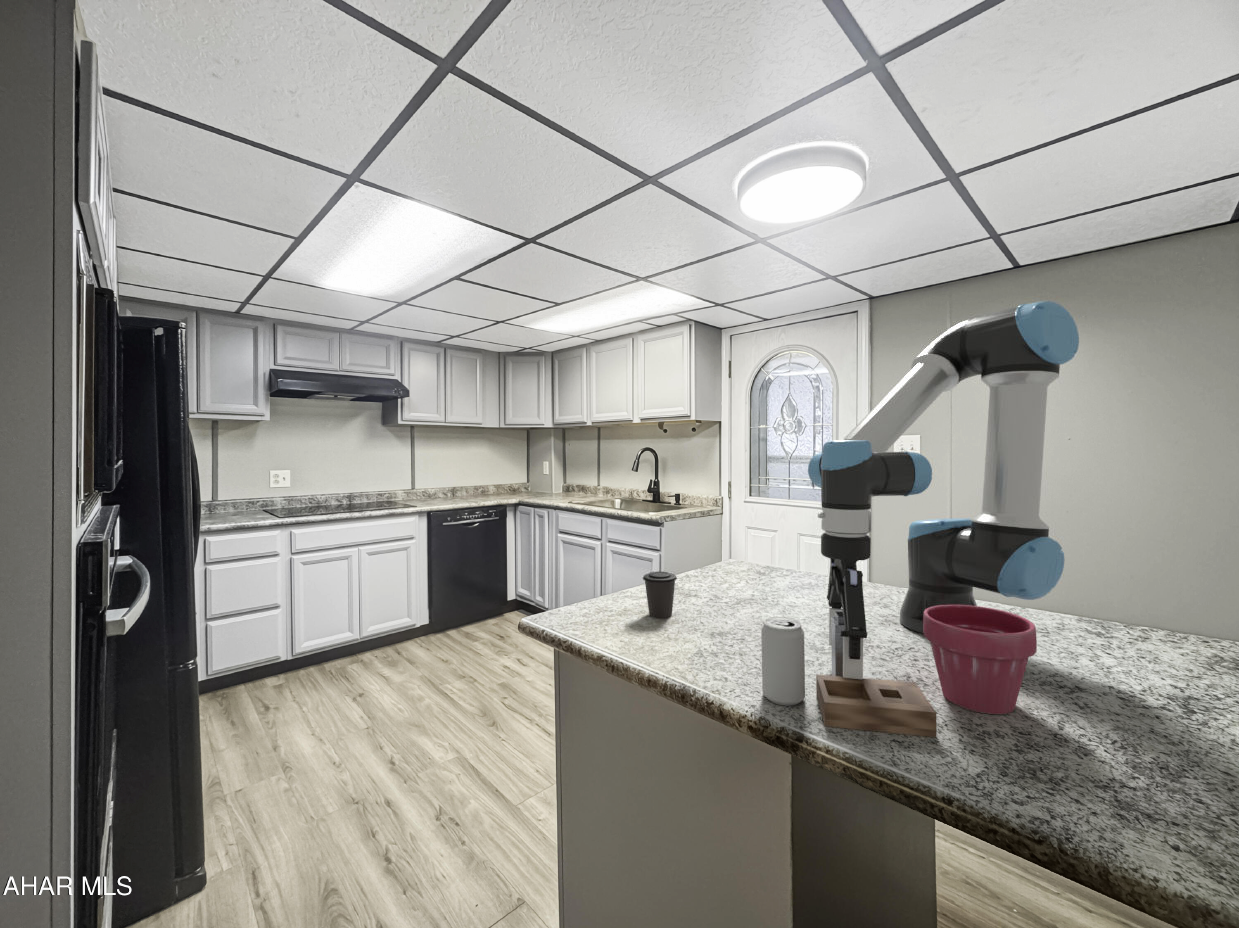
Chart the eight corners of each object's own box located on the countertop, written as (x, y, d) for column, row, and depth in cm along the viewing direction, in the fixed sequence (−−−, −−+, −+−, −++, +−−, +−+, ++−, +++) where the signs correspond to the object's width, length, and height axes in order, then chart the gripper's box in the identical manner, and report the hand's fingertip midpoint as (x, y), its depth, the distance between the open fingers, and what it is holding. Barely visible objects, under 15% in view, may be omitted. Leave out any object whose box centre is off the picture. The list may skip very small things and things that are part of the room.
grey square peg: (856, 676, 87) (856, 611, 87) (862, 687, 84) (861, 619, 83) (831, 674, 88) (831, 610, 88) (835, 685, 85) (835, 617, 84)
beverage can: (799, 712, 76) (798, 631, 76) (756, 701, 80) (755, 624, 79) (809, 694, 82) (808, 619, 81) (768, 685, 85) (767, 613, 85)
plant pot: (905, 679, 86) (905, 603, 86) (991, 678, 86) (991, 602, 85) (959, 725, 72) (959, 634, 71) (1062, 724, 71) (1063, 633, 71)
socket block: (915, 704, 78) (915, 682, 78) (936, 737, 69) (936, 712, 69) (816, 695, 81) (816, 674, 81) (824, 726, 72) (824, 702, 72)
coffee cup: (644, 609, 126) (644, 568, 126) (678, 610, 125) (677, 569, 125) (641, 620, 118) (640, 577, 118) (677, 621, 117) (676, 577, 117)
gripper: (811, 522, 98) (811, 632, 99) (834, 545, 74) (832, 691, 74) (854, 523, 96) (853, 635, 97) (891, 548, 72) (889, 697, 73)
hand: (844, 660), depth 86 cm, fingers open, 13 cm apart
